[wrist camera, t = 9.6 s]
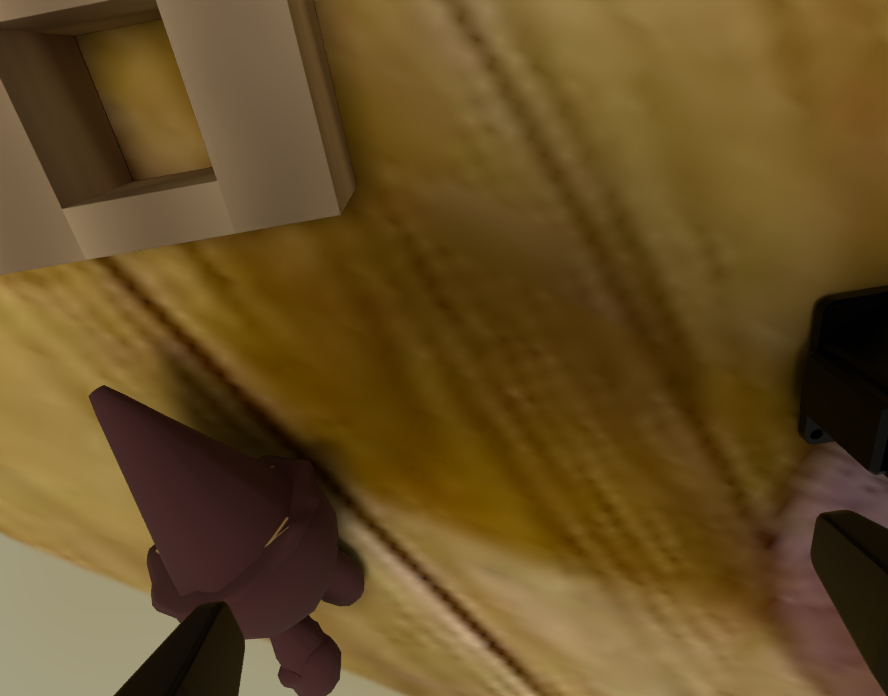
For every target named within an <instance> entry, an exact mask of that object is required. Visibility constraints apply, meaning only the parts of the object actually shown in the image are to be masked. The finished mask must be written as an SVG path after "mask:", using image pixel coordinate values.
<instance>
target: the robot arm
mask: <svg viewBox="0 0 888 696" xmlns="http://www.w3.org/2000/svg"><path fill="white" fill-rule="evenodd" d="M835 306H836V309H835V311H834V312H833V313H831V314H829V313H830V310H831V309H832V308H833V307H835ZM800 409H801V416H800V423H799V430H798V431H799V435H800V436H801V437H802V438H803V439H804V440H805V441H806V442H807V443H809V444H819V443H826V442H832V441H836V442H837V443H838V444H839V445H840V446H841V447H842V448H843V449H845V450H846V451H847V452H848V453H849V454H850V455H851V456H852V457H853V458H854V459H856V460H857V461H858V462H859V463H860V464H861V465H862V466H863V467H864V468H866V469H867V470H868V471H869V472H871V473H872V474H874V475H879V474H884V475H885V476H886V477H887V478H888V286H887V287H881V288H875V289H869V290H863V291H856V292H850V293H844V294H838V295H832V296H829V297H826V298H824V299H823V300H821V301H820V303H819V304H818V305H817V308H816V312H815V319H814V326H813V333H812V340H811V347H810V354H809V356H808V358H807V363H806V371H805V378H804V385H803V392H802V399H801V406H800ZM814 430H816V431H814ZM813 431H814V432H813ZM812 432H813V433H812ZM810 555H811V561H812V564H813V567H814V569H815V571H816V573H817V575H818V577H819V579H820V580H821V582H822V584H823V586H824V588H825V590H826V591H827V593H828V595H829V597H830V599H831V601H832V602H833V604H834V606H835V608H836V610H837V612H838V613H839V615H840V617H841V619H842V621H843V622H844V624H845V626H846V628H847V630H848V632H849V633H850V635H851V637H852V639H853V641H854V643H855V644H856V646H857V648H858V650H859V652H860V654H861V655H862V657H863V659H864V661H865V662H866V664H867V666H868V667H869V669H870V671H871V673H872V674H873V676H874V677H875V679H876V680H877V682H878V683H879V685H880V687H881V688H882V690H883V691H884V693H885V694H886V696H888V529H887V528H885V527H883V526H881V525H879V524H877V523H875V522H873V521H871V520H869V519H867V518H865V517H863V516H862V515H860V514H858V513H855V512H853V511H850V510H839V511H832V512H825V513H821V514H820V515H819V516H818V517H817V519H816V523H815V528H814V534H813V540H812V545H811V553H810ZM244 652H245V639H244V635H243V632H242V630H241V628H240V626H239V624H238V622H237V620H236V618H235V616H234V614H233V612H232V610H231V608H230V606H229V605H228V604H227V603H226V602H224V601H217V602H210V603H204V604H200V605H198V606H197V607H195V608H194V609H193V610H192V611H191V612H190V614H189V615H188V616H187V617H186V618H185V619H184V620H183V621H182V622H181V623H180V624H179V625H178V626H177V628H176V629H175V630H174V631H173V632H172V633H171V634H170V635H169V636H168V637H167V639H166V640H165V641H164V642H163V643H162V644H161V645H160V646H159V647H158V648H157V649H156V650H155V651H154V653H153V654H152V655H151V656H150V657H149V658H148V659H147V660H146V661H145V662H144V663H143V664H142V665H141V667H140V668H139V669H138V670H137V671H136V672H135V673H134V674H133V675H132V676H131V677H130V679H128V681H127V682H126V683H125V684H124V685H123V686H122V687H121V688H120V689H119V690H118V691H117V692H116V694H115V695H114V696H238V693H239V686H240V679H241V672H242V665H243V658H244Z"/></svg>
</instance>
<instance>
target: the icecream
mask: <svg viewBox="0 0 888 696" xmlns="http://www.w3.org/2000/svg"><path fill="white" fill-rule="evenodd" d="M89 399H90V401H91V404H92V406H93V409H94V411H95V414H96V416H97V418H98V421H99V423H100V425H101V427H102V429H103V432H104V434H105V436H106V438H107V440H108V442H109V445H110V447H111V449H112V451H113V453H114V456H115V458H116V460H117V462H118V464H119V467H120V469H121V471H122V473H123V475H124V477H125V480H126V482H127V484H128V486H129V488H130V491H131V493H132V495H133V497H134V499H135V502H136V504H137V506H138V508H139V510H140V513H141V515H142V517H143V519H144V521H145V524H146V526H147V528H148V530H149V532H150V535H151V537H152V539H153V541H154V543H155V545H153V546H152V547H151V548H150V549H149V551H148V554H147V566H148V570H149V574H150V578H151V582H152V589H151V598H152V605H153V607H154V608H155V609H156V610H157V611H159V612H161V613H164V614H166V615H169V616H172V617H174V618H177V620H178V621H179V622H180V623H181V622H182V621H183V620H184V619H185V618H186V617H187V616H188V615H189V614H190V612H191V611H192V610H193V609H194V608H195V607H197V606H198V605H200V604H204V603H210V602H217V601H224V602H226V603H227V604H228V605H229V606H230V608H231V610H232V612H233V614H234V616H235V618H236V620H237V622H238V624H239V626H240V628H241V630H242V632H243V635H244V639H258V638H270V640H271V643H272V646H273V649H274V652H275V655H276V658H277V660H278V661H279V663H280V664H281V667H280V670H279V673H278V677H279V679H280V682H281V684H282V685H283V686H284V687H287V688H293V689H294V690H295V692H296V693H297V694H298V696H326V695H328V694H329V693H331V692H332V690H333V689H334V687H335V686H336V684H337V682H338V681H339V679H340V669H341V651H340V649H339V648H338V646H337V644H336V643H335V642H334V641H333V639H332V638H331V637H330V636H328V635H327V634H325V633H324V632H323V631H322V629H321V627H320V626H319V624H318V622H316V621H314V620H313V619H312V618H311V617H310V616H309V614H310V613H312V612H313V611H314V610H315V609H316V607H317V605H318V604H319V602H320V600H321V599H322V600H323V601H324V602H327V603H331V604H334V605H337V606H350V605H351V604H353V603H354V602H355V601H357V600H358V599H359V598H360V597H361V595H362V593H363V591H364V574H363V573H362V571H361V570H360V568H359V567H358V565H357V564H356V562H355V561H354V560H353V559H352V558H351V557H349V556H348V555H347V554H345V553H343V552H341V551H339V550H337V545H338V529H337V521H336V514H335V511H334V509H333V508H332V506H331V504H330V503H329V501H328V499H327V498H326V496H325V494H324V493H323V491H322V490H321V489H320V487H319V486H318V485H317V484H316V478H315V472H314V467H313V465H312V463H311V462H310V461H308V460H302V459H286V458H281V457H276V456H271V455H268V456H264V457H262V458H261V459H259V460H256V459H254V458H252V457H250V456H248V455H246V454H244V453H242V452H240V451H238V450H235V449H233V448H231V447H229V446H227V445H225V444H223V443H221V442H219V441H217V440H215V439H213V438H211V437H209V436H207V435H205V434H202V433H200V432H198V431H196V430H194V429H192V428H190V427H188V426H186V425H184V424H182V423H180V422H178V421H176V420H174V419H172V418H169V417H167V416H165V415H163V414H161V413H159V412H158V411H156V410H154V409H152V408H150V407H148V406H146V405H144V404H142V403H140V402H138V401H136V400H134V399H132V398H130V397H128V396H126V395H124V394H122V393H120V392H118V391H116V390H114V389H111V388H109V387H107V386H105V385H103V386H101V387H99V388H97V389H96V390H94V391H93V392H92V393H91V394H90V395H89Z"/></svg>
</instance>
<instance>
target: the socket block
mask: <svg viewBox="0 0 888 696" xmlns="http://www.w3.org/2000/svg"><path fill="white" fill-rule="evenodd" d="M158 19H162V20H163V23H164V26H165V29H166V32H167V35H168V37H169V40H170V43H171V46H172V49H173V52H174V55H175V58H176V61H177V64H178V67H179V70H180V73H181V76H182V79H183V81H184V84H185V87H186V90H187V93H188V96H189V99H190V102H191V105H192V108H193V111H194V114H195V117H196V120H197V123H198V126H199V128H200V131H201V134H202V137H203V140H204V143H205V146H206V149H207V152H208V155H209V158H210V161H211V164H212V167H210V168H205V169H199V170H194V171H188V172H183V173H177V174H172V175H166V176H161V177H155V178H150V179H144V180H139V181H133V180H132V177H131V175H130V173H129V170H128V168H127V165H126V163H125V160H124V158H123V155H122V153H121V150H120V148H119V146H118V143H117V141H116V138H115V136H114V133H113V131H112V128H111V126H110V123H109V121H108V118H107V116H106V114H105V111H104V109H103V106H102V104H101V101H100V99H99V96H98V94H97V91H96V89H95V87H94V84H93V82H92V79H91V77H90V74H89V72H88V69H87V67H86V64H85V62H84V59H83V57H82V55H81V52H80V50H79V47H78V45H77V42H76V40H75V37H74V36H76V35H81V34H86V33H91V32H97V31H102V30H107V29H112V28H117V27H122V26H127V25H132V24H137V23H143V22H148V21H153V20H158ZM356 187H357V186H356V182H355V177H354V173H353V169H352V164H351V160H350V156H349V151H348V147H347V143H346V138H345V134H344V130H343V126H342V121H341V117H340V113H339V108H338V104H337V100H336V95H335V91H334V87H333V83H332V78H331V74H330V70H329V65H328V61H327V57H326V52H325V48H324V44H323V39H322V35H321V31H320V27H319V22H318V18H317V14H316V9H315V5H314V1H313V0H0V275H3V274H9V273H15V272H20V271H26V270H32V269H37V268H43V267H49V266H54V265H60V264H66V263H71V262H77V261H83V260H88V259H94V258H100V257H105V256H111V255H117V254H122V253H128V252H134V251H139V250H145V249H151V248H156V247H162V246H168V245H173V244H179V243H185V242H190V241H196V240H202V239H207V238H213V237H219V236H224V235H230V234H236V233H241V232H247V231H253V230H258V229H264V228H270V227H275V226H281V225H287V224H292V223H298V222H304V221H309V220H315V219H321V218H326V217H332V216H338V215H341V213H342V212H343V210H344V208H345V206H346V205H347V203H348V201H349V199H350V198H351V196H352V194H353V192H354V191H355V189H356Z"/></svg>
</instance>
